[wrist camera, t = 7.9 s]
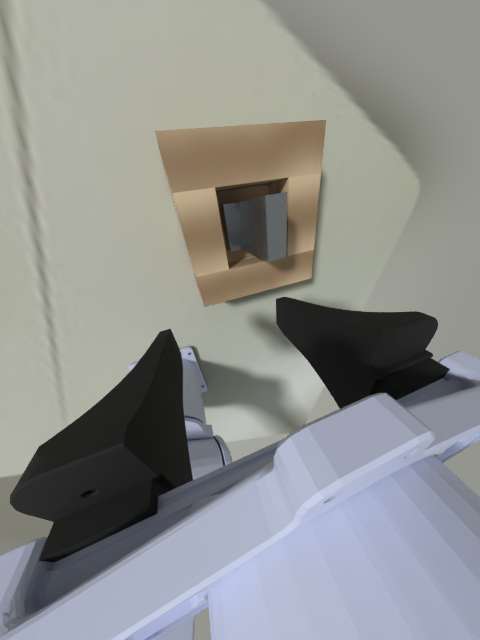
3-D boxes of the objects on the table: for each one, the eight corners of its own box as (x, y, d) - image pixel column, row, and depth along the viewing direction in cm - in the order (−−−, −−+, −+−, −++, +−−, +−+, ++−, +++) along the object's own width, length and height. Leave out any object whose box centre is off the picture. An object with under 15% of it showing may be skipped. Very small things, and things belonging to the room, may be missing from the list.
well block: (291, 269, 22) (311, 278, 19) (199, 292, 20) (204, 306, 17) (294, 140, 16) (326, 119, 13) (159, 151, 14) (155, 130, 10)
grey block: (262, 243, 19) (300, 253, 13) (228, 250, 18) (252, 265, 13) (260, 199, 17) (304, 189, 11) (220, 205, 16) (246, 198, 10)
